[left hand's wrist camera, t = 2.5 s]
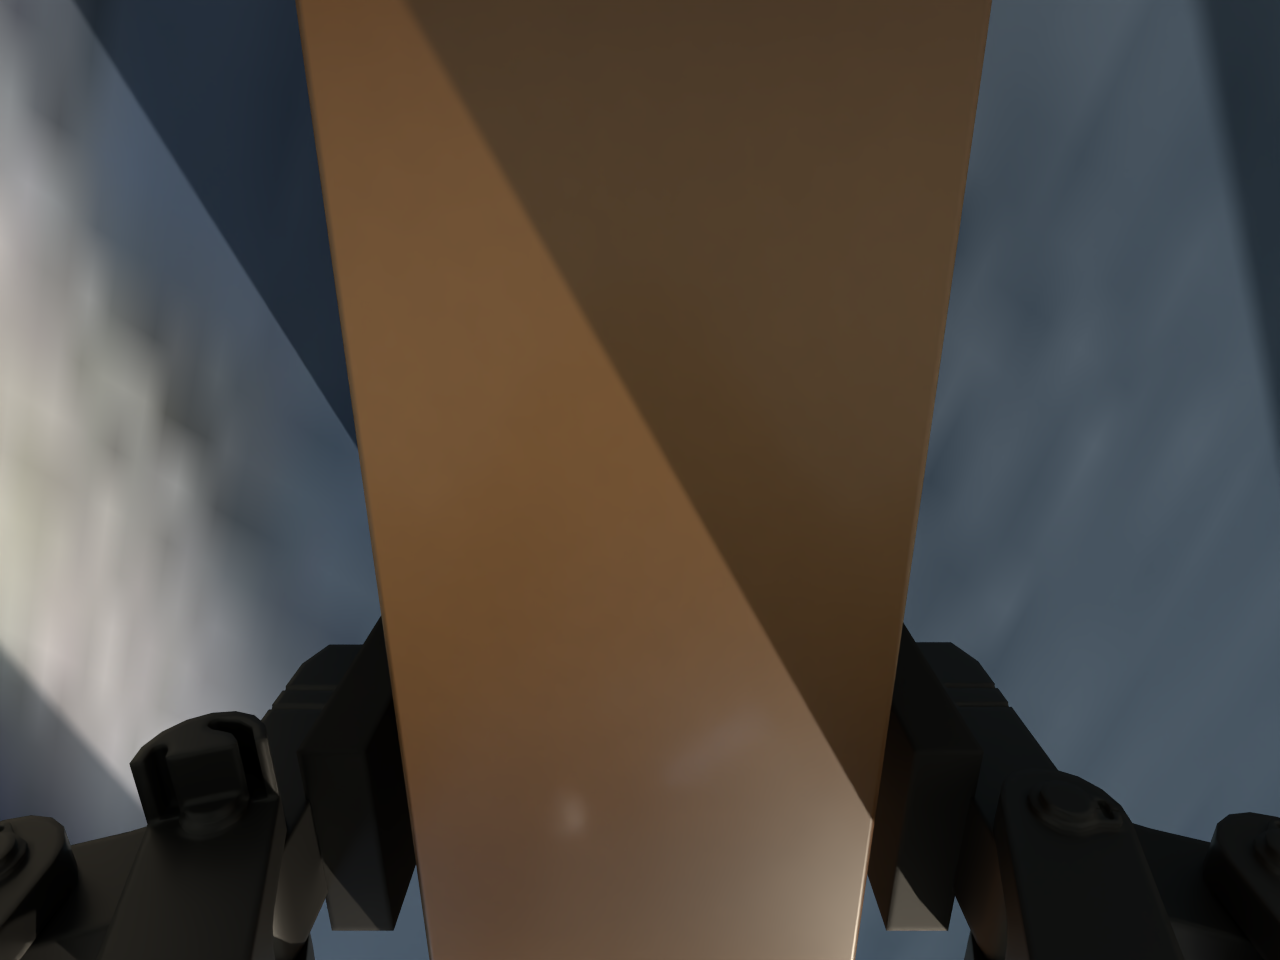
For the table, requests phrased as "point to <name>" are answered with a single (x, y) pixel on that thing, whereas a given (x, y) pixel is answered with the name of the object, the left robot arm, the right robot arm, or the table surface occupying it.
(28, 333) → the table surface
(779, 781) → the bar
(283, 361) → the table surface
